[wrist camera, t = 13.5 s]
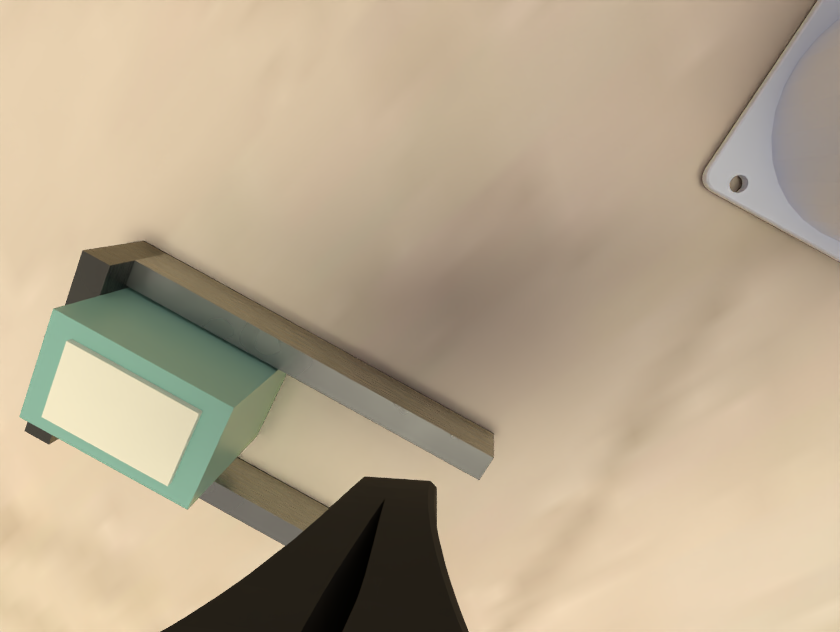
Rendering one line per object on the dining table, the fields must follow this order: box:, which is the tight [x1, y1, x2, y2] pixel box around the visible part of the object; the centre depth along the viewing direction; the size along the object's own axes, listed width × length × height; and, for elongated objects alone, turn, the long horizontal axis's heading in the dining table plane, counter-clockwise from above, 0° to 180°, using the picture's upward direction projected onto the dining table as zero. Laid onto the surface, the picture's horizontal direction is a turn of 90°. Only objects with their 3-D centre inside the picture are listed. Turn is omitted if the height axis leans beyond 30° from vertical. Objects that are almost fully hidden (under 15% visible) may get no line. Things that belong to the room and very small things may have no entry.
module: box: [20, 287, 286, 510], centre depth 18 cm, size 6×4×5 cm, turn 62°
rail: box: [25, 241, 494, 546], centre depth 19 cm, size 15×7×3 cm, turn 62°
